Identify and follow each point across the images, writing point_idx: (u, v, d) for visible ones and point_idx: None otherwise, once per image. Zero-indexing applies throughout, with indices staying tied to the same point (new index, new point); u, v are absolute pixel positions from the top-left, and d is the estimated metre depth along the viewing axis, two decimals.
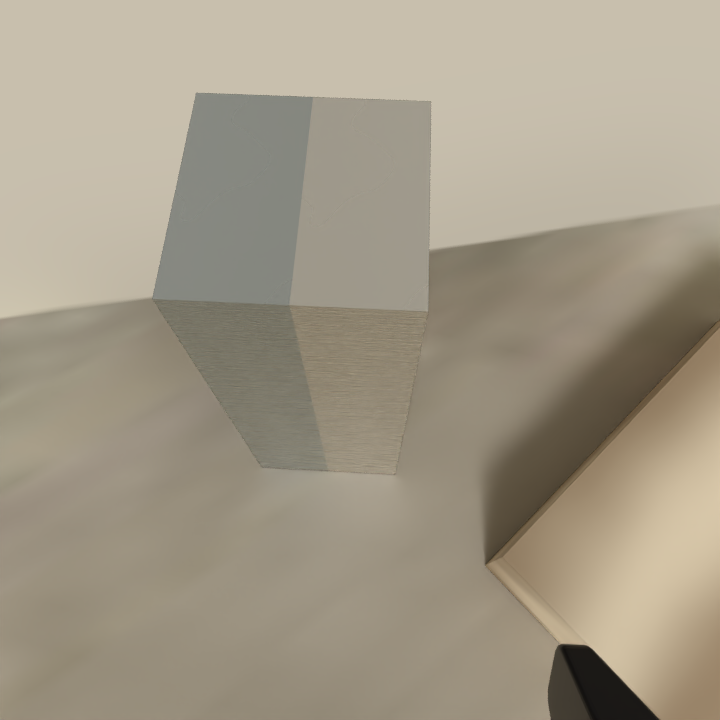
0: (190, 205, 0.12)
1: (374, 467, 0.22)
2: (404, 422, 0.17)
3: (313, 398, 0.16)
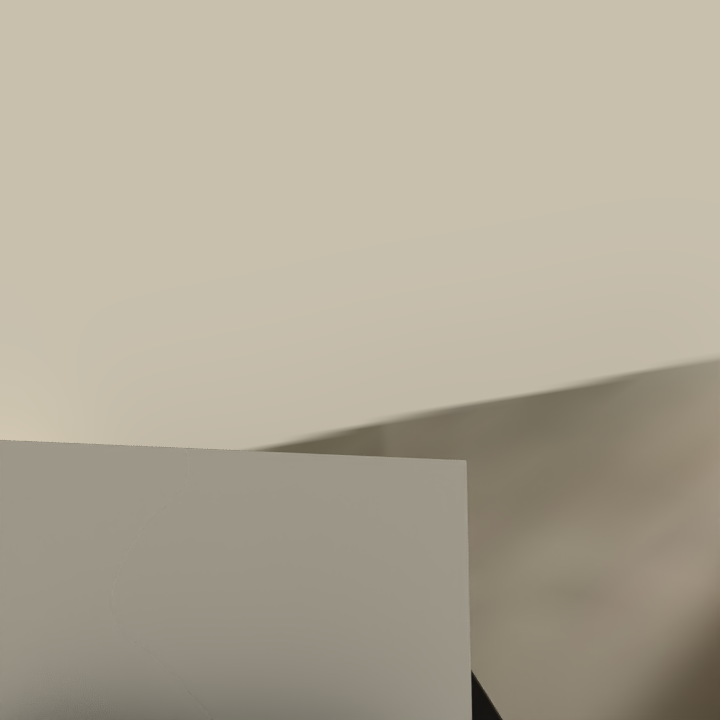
0: None
1: None
2: None
3: None
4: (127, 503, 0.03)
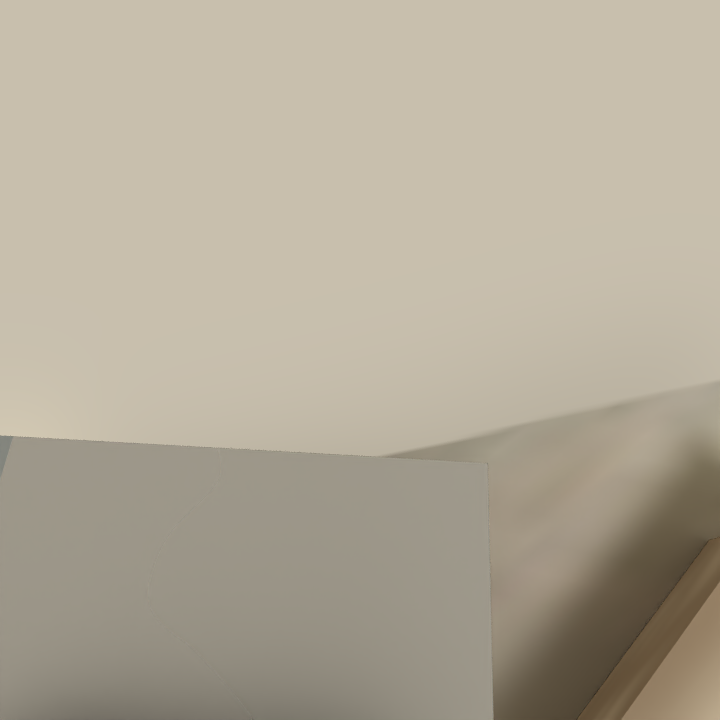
0: None
1: None
2: None
3: None
4: (162, 500, 0.03)
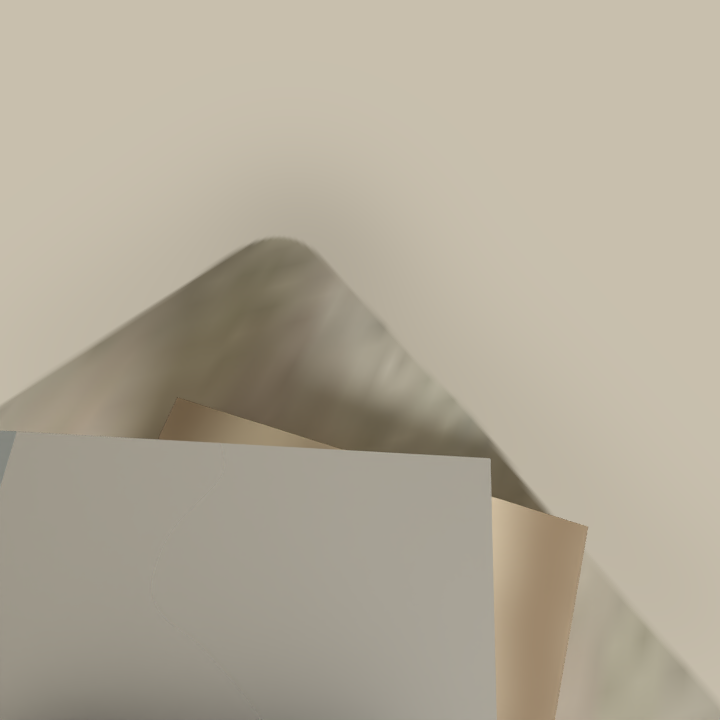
0: None
1: None
2: None
3: None
4: (166, 494, 0.03)
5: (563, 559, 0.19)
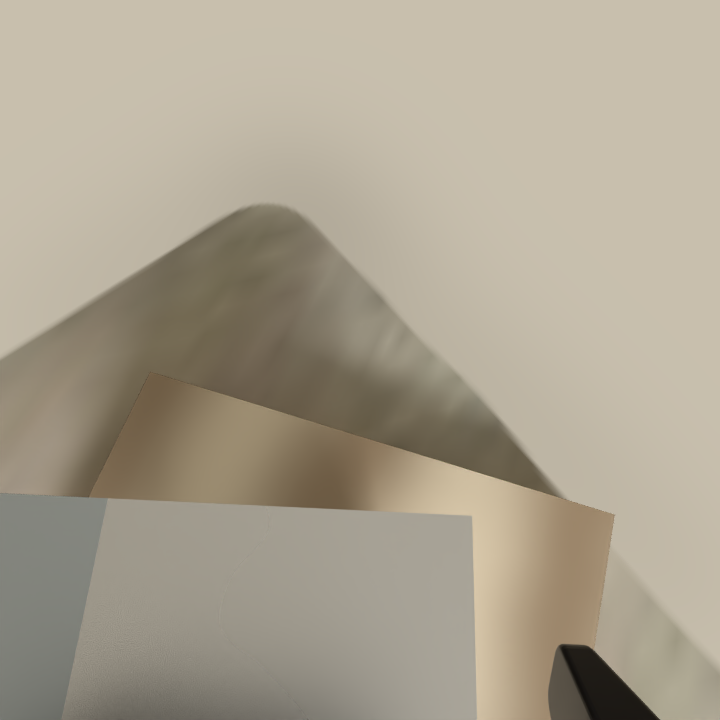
0: None
1: None
2: None
3: None
4: (226, 547, 0.04)
5: (587, 551, 0.17)
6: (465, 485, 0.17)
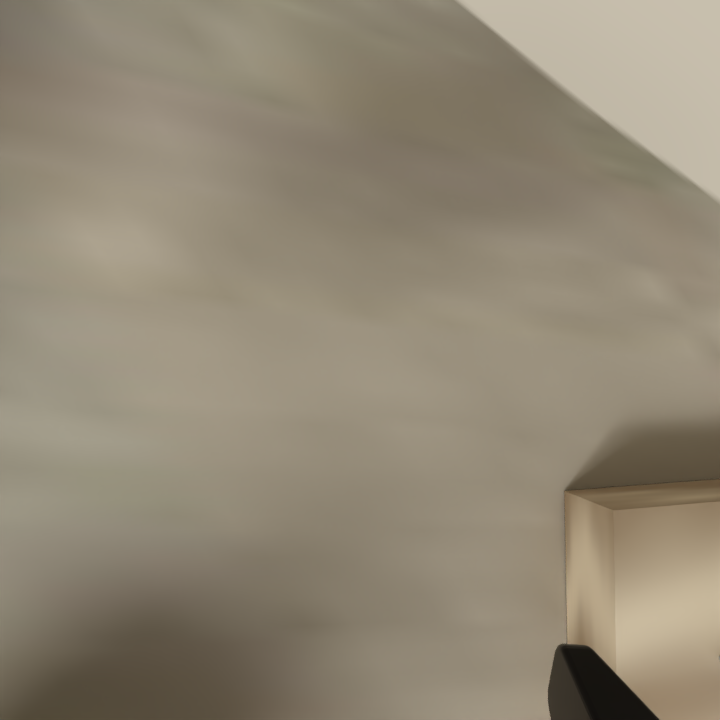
0: None
1: None
2: None
3: None
4: None
5: None
6: None
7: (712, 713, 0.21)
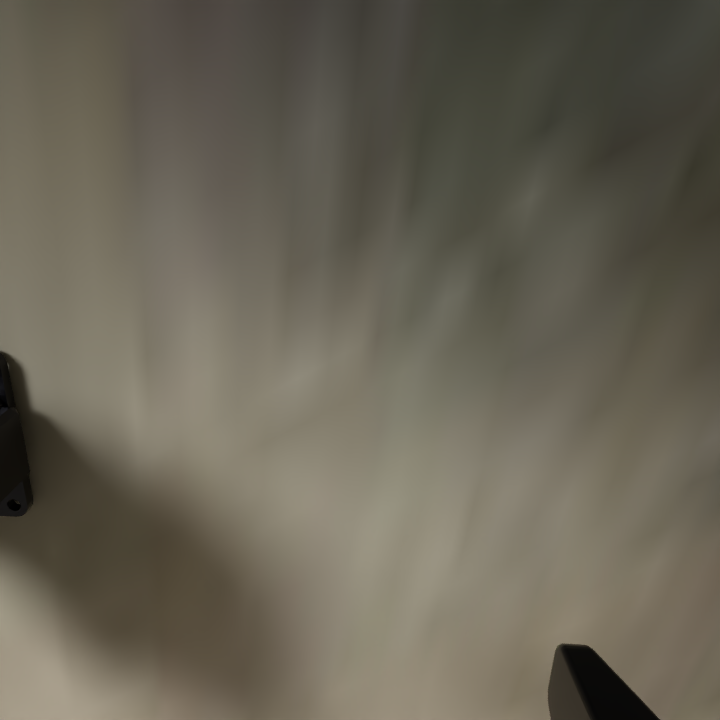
0: None
1: None
2: None
3: None
4: None
5: None
6: None
7: None
